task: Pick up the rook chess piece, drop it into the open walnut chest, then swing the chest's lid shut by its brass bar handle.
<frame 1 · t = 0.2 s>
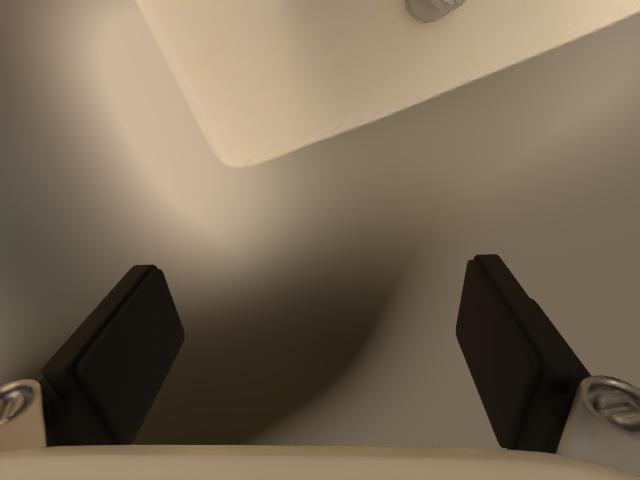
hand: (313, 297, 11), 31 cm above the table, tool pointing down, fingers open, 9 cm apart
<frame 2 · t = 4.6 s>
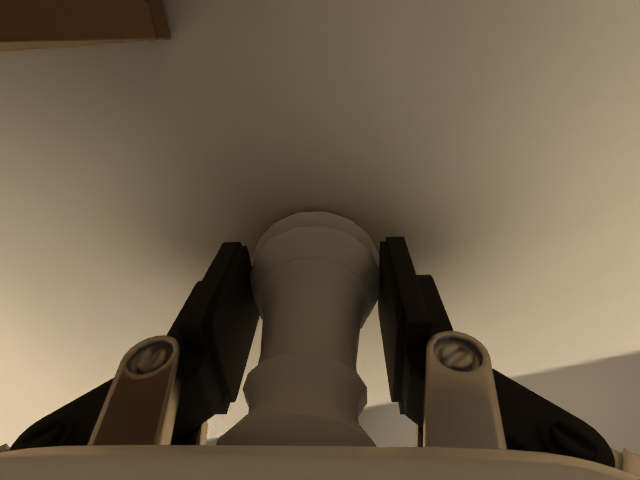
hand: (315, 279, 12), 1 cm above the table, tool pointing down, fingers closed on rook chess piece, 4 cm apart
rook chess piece: (317, 257, 13), on the table, touching gripper
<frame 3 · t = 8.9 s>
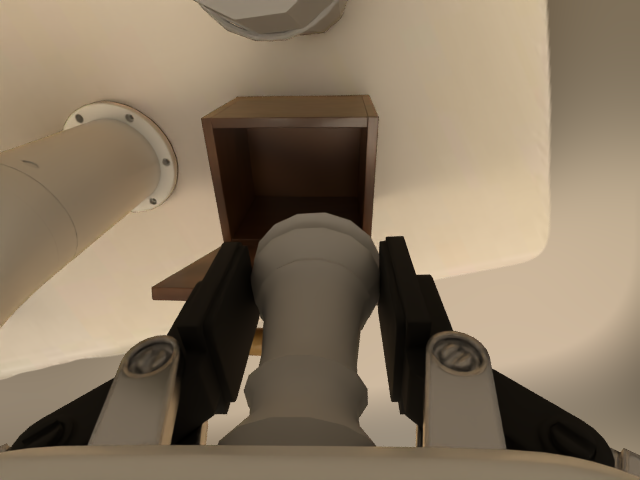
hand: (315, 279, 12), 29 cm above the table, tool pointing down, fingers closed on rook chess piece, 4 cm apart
lid: (285, 298, 26), point 18 cm above the table, hinge at 70.0°
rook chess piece: (318, 258, 13), point 27 cm above the table, touching gripper
chest: (304, 151, 39), on the table
when the fingers open (9 cm above the table, at t = 13.5 s): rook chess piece drops 7 cm, resting on chest.
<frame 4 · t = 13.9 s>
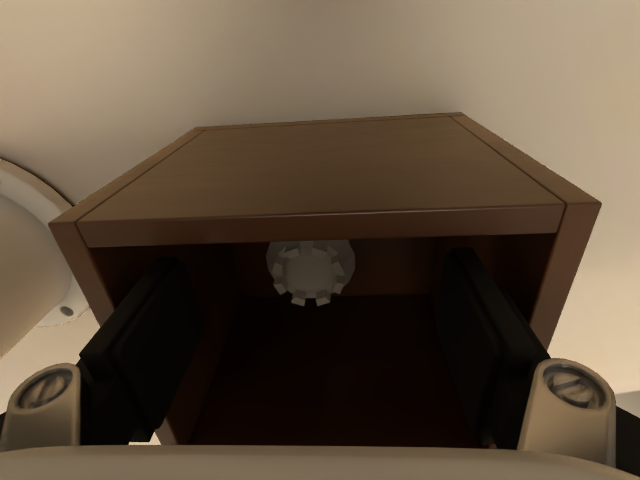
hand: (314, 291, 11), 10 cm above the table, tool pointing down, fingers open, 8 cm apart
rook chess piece: (322, 187, 19), point 1 cm above the table, touching chest
chest: (330, 221, 21), on the table
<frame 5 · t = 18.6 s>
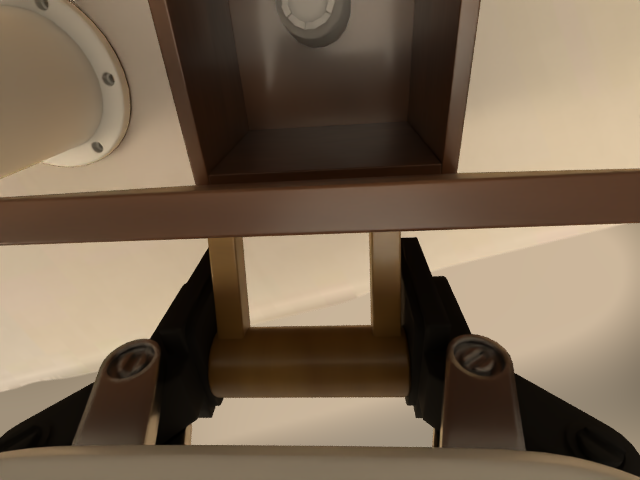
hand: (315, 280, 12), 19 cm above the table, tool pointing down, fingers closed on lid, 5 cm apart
lid: (316, 262, 12), point 18 cm above the table, hinge at 70.0°, touching gripper
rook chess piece: (316, 9, 23), point 1 cm above the table, touching chest
chest: (323, 50, 25), on the table
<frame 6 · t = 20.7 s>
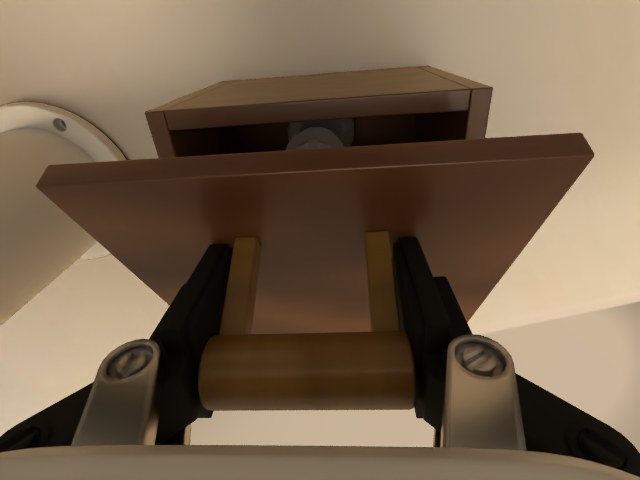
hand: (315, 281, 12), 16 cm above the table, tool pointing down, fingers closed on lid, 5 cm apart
lid: (319, 335, 12), point 16 cm above the table, hinge at 26.4°, touching gripper
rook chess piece: (321, 128, 24), point 1 cm above the table, touching chest
chest: (327, 160, 26), on the table
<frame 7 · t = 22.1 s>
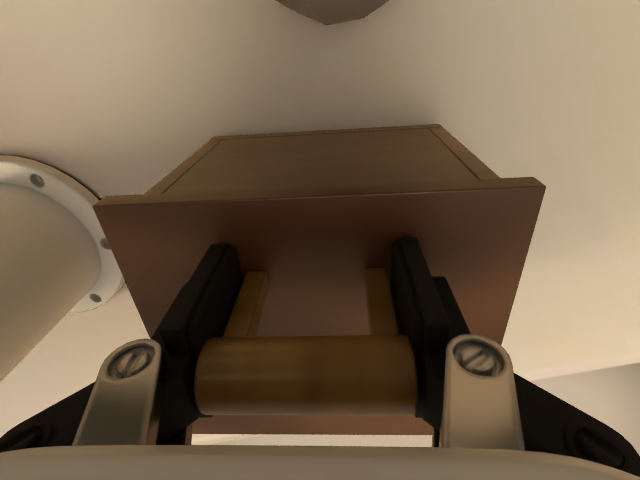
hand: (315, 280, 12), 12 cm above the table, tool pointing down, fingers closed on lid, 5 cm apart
lid: (319, 389, 12), point 14 cm above the table, hinge at 0.6°, touching gripper
chest: (328, 217, 24), on the table
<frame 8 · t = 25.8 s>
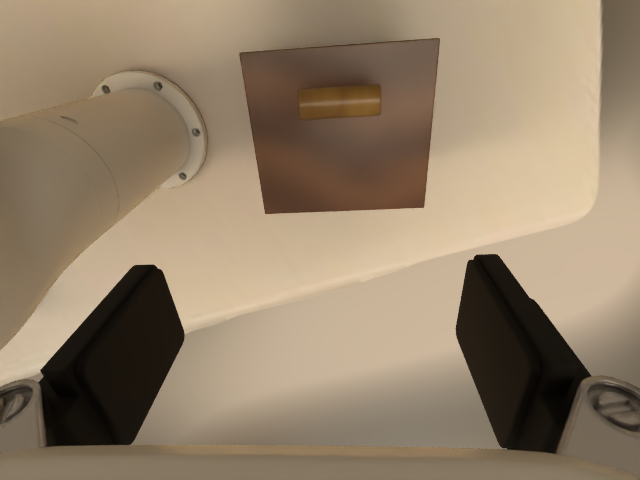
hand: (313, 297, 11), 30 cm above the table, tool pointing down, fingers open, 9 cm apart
lid: (341, 145, 25), point 14 cm above the table, hinge at 0.2°
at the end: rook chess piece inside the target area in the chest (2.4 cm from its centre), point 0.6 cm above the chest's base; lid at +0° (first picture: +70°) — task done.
